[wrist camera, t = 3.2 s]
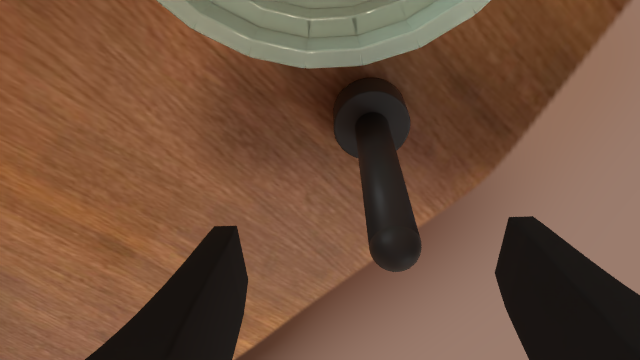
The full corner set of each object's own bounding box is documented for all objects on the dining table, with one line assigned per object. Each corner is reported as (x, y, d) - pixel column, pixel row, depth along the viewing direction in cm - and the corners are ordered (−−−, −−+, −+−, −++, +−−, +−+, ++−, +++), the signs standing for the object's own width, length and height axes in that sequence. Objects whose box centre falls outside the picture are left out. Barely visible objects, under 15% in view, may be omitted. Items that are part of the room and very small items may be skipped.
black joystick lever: (406, 75, 18) (470, 213, 10) (402, 141, 19) (453, 304, 11) (331, 79, 18) (334, 217, 10) (334, 144, 20) (338, 306, 12)
